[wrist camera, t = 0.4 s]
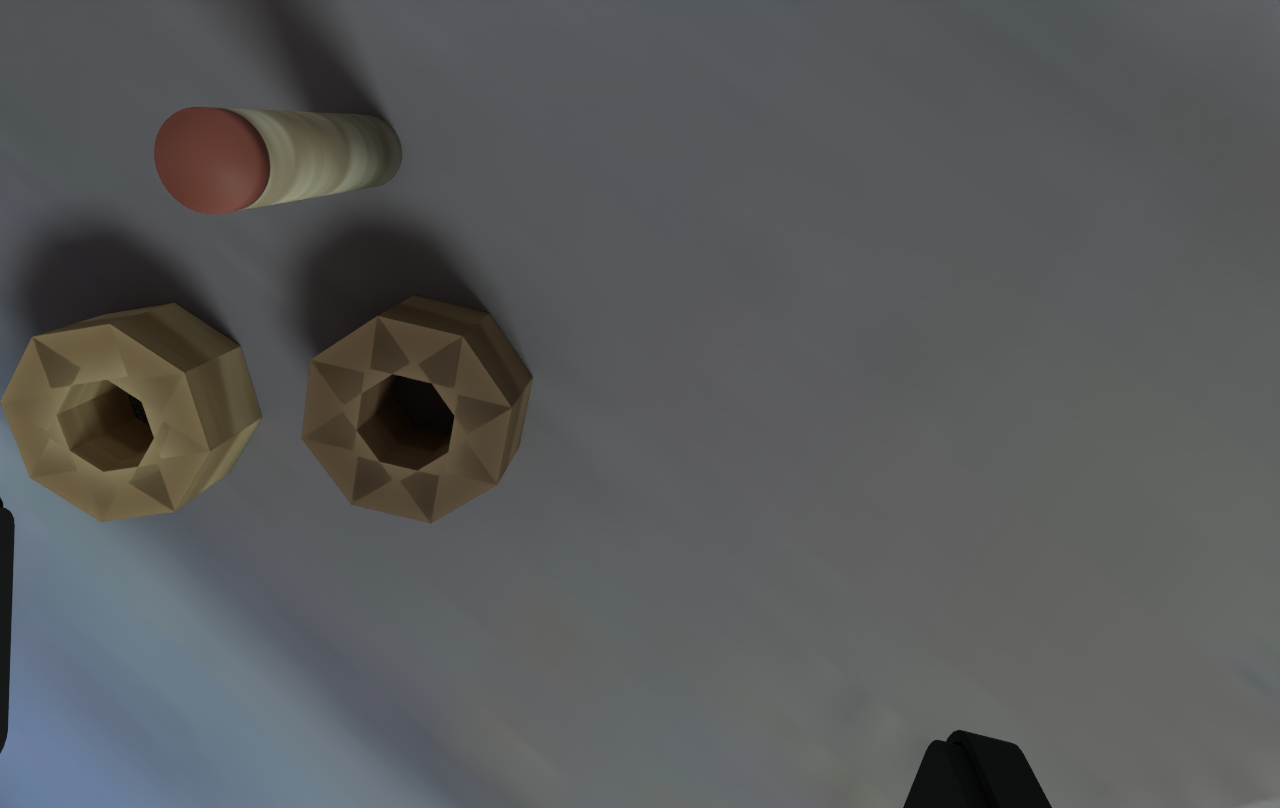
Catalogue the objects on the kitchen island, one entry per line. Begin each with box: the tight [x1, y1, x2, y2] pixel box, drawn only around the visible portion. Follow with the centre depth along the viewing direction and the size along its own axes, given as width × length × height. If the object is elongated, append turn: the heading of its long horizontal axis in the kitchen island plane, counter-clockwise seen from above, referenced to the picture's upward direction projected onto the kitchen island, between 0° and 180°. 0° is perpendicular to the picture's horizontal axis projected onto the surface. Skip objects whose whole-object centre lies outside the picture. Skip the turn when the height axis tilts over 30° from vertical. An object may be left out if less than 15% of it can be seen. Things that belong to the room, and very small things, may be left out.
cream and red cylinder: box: [154, 107, 402, 214], centre depth 34 cm, size 3×3×14 cm
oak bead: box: [0, 303, 262, 522], centre depth 43 cm, size 9×9×5 cm
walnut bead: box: [301, 295, 533, 523], centre depth 42 cm, size 9×9×5 cm
